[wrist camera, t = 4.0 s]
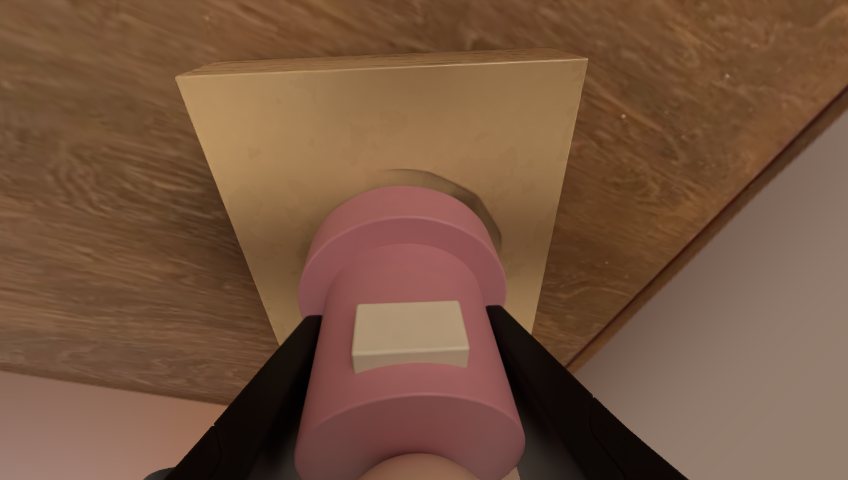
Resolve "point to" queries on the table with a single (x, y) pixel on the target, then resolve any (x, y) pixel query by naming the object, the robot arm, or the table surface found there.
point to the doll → (405, 344)
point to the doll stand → (387, 150)
